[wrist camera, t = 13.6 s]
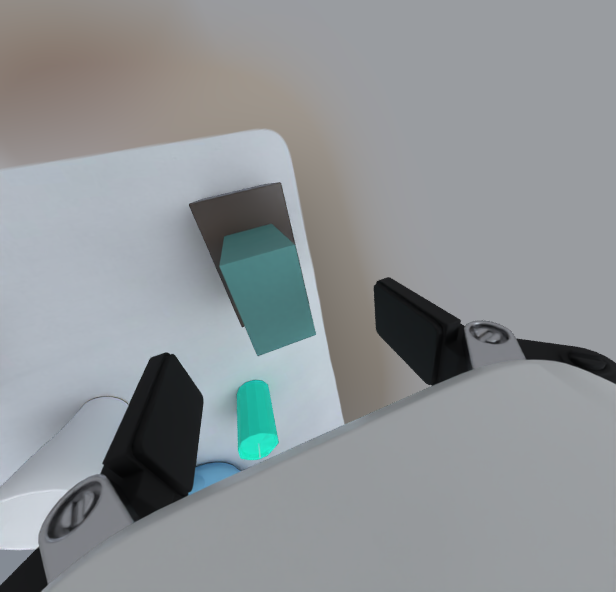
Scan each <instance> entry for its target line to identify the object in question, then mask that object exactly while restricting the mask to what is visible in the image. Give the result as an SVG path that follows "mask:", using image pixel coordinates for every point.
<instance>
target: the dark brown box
mask: <svg viewBox="0 0 616 592" xmlns="http://www.w3.org/2000/svg"><path fill="white" fill-rule="evenodd" d="M189 206H190V209H191V211H192V213H193V215H194V218H195V220H196V222H197V225H198V227H199V229H200V232H201V234H202V236H203V239H204V241H205V243H206V245H207V248H208V250H209V252H210V255H211V257H212V259H213V262H214V264H215V266H216V269H217V271H218V273H219V275H220V278H221V280H222V282H223V285H224V287H225V289H226V292H227V294H228V296H229V299H230V301H231V303H232V306H233V308H234V310H235V312H236V315H237V317H238V319H239V322H240V324H241V326H242V327H244V323H243V321H242V319H241V316H240V314H239V312H238V309H237V307H236V304H235V302H234V300H233V297H232V295H231V293H230V290H229V288H228V286H227V283H226V281H225V279H224V276H223V274H222V271H221V269H220V267H219V266H220V260H221V254H222V247H223V241H224V236H227V235H231V234H235V233H238V232H242V231H246V230H250V229H253V228H257V227H261V226H265V225H268V224H273V225H274V226H275V227H276V228H277V229H278V230H279V231H280V232H281V233H283V234H284V235H285V236H286V237H287V238H288V239H289V240H290V241H291V242H293V243H294V244H295V241H294V237H293V233H292V228H291V224H290V220H289V215H288V211H287V207H286V203H285V198H284V194H283V190H282V185H281V183H280V182H279V183H271V184H264V185H260V186H255V187H251V188H247V189H242V190H238V191H234V192H230V193H225V194H221V195H217V196H213V197H208V198H204V199H201V200H198V201H196V202H193V203H190V204H189ZM295 247H296V245H295ZM296 251H297V250H296ZM297 255H298V254H297ZM298 260H299V258H298ZM299 264H300V263H299ZM300 268H301V267H300ZM301 272H302V271H301ZM302 277H303V275H302ZM303 281H304V280H303ZM304 285H305V284H304ZM305 290H306V288H305ZM306 294H307V293H306ZM307 298H308V297H307ZM308 302H309V301H308Z"/></svg>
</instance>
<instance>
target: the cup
mask: <svg viewBox="0 0 616 592" xmlns="http://www.w3.org/2000/svg"><path fill="white" fill-rule="evenodd" d="M127 408H128V405H127V403H126V402H124V401H123V400H121V399H118V398H114V397H99V398H95V399H92V400H90V401H88V402H87V403H86V404H84V405H83V406H82V408H81V409H80V410H79V411H78V412H77V414H76V415H75V416H74V417H73V418H72V419H71V421H70V422H68V423H67V424H66V425H65V426H64V427H63V428H62V429H61V430H60V431H59V432H58V433H57V434H56V435H55V436H54V437H53V438H52V439H51V440H49V441H48V442H47V443H46V444H45V445H44V446H43V447H41V448H40V449H39V450H38V451H37V452H36V453H35V454H33V455H32V456H31V457H30V458H29V459H28V460H27V461H26V462H25V463H24V464H23V465H22V466H21V467H20V468H19V469H18V470H17V471H16V472H15V473H14V474H13V475H12V476H11V477H10V478H9V479H8V480H7V481H6V482H5V483H4V484H3V485H2V486H1V487H0V549H6V550H27V549H37V548H38V547H39V544H38V534H39V531H40V529H41V526H42V524H43V522H44V520H45V518H46V517H47V515H48V514H49V512H50V511H51V509H52V508H53V507H54V506H55V504H56V503H57V502H58V501H59V500H60V499H61V498H62V497H63V496H64V495H65V494H66V493H67V492H68V491H69V490H70V489H71V488H72V487H74V486H75V485H76V484H78V483H79V482H80V481H82V480H84V479H86V478H87V477H90V476H93V475H96V474H100V473H101V470H102V468H103V466H104V465H103V464H102V463H103V460H104V458H105V456H106V454H107V452H108V449H109V447H110V445H111V443H112V441H113V438H114V436H115V434H116V432H117V430H118V427H119V425H120V423H121V421H122V419H123V416H124V414H125V412H126V410H127Z"/></svg>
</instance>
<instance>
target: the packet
mask: <svg viewBox="0 0 616 592" xmlns="http://www.w3.org/2000/svg"><path fill="white" fill-rule="evenodd" d="M219 267H220V269H221V271H222V274H223V276H224V279H225V281H226V283H227V286H228V288H229V290H230V293H231V295H232V297H233V300H234V302H235V304H236V307H237V309H238V312H239V314H240V316H241V319H242V321H243V323H244V326H245V328H246V330H247V333H248V335H249V337H250V340H251V342H252V345H253V347H254V349H255V352H256V354H257V356H259V355H262V354H265V353H268V352H270V351H273V350H276V349H279V348H281V347H284V346H287V345H289V344H292V343H295V342H298V341H300V340H303V339H306V338H309V337H311V336H314V335H316V332H315V328H314V324H313V319H312V315H311V311H310V307H309V302H308V298H307V294H306V290H305V285H304V281H303V277H302V272H301V268H300V264H299V260H298V255H297V251H296V247H295V244H294V243H293V242H291V241H290V240H289V239H288V238H287V237H286V236H285V235H284V234H283V233H281V232H280V231H279V230H278V229H277V228H276V227H275V226H274V225H273V224H268V225H265V226H261V227H257V228H253V229H250V230H246V231H242V232H238V233H235V234H231V235H227V236H224V241H223V247H222V254H221V260H220V266H219Z"/></svg>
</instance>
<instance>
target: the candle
mask: <svg viewBox="0 0 616 592" xmlns="http://www.w3.org/2000/svg"><path fill="white" fill-rule="evenodd" d="M237 428H238V452H239V455H240V458H241V459H245V460H259V459H261V458H263V457H266V456H268V455H269V454H270V452H271V451H272V450H273V449H274V448H275V447H276V446H277V444H278V443H279V441H278V436H277V430H276V425H275V419H274V414H273V408H272V403H271V398H270V392H269V388H268V384H266V383H265V382H263V381H260V380H252V381H249V382H246V383H244V384H243V385H242V386H241V387H240V388H239V390H238V392H237Z"/></svg>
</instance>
